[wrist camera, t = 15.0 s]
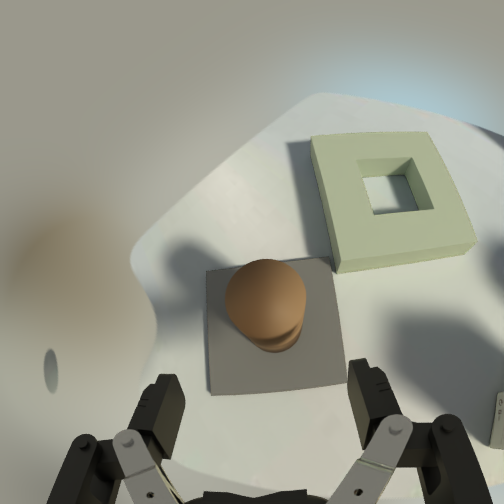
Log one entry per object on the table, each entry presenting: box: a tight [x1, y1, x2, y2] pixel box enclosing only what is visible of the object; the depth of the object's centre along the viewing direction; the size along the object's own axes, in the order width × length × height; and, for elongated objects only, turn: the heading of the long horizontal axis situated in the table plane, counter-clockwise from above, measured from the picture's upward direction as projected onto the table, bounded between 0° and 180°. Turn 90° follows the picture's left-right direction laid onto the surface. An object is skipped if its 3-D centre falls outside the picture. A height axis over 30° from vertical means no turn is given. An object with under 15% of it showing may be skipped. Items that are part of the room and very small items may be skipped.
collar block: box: [310, 132, 478, 274], centre depth 27 cm, size 14×14×3 cm
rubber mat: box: [206, 257, 348, 396], centre depth 25 cm, size 11×11×1 cm
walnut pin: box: [225, 259, 306, 353], centre depth 20 cm, size 4×4×9 cm
